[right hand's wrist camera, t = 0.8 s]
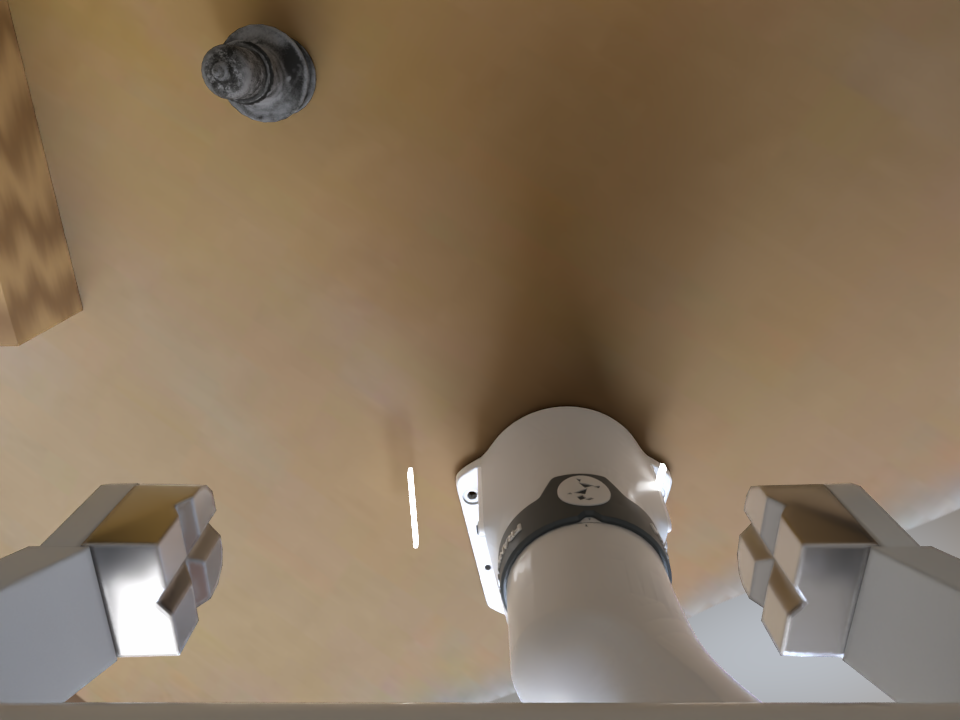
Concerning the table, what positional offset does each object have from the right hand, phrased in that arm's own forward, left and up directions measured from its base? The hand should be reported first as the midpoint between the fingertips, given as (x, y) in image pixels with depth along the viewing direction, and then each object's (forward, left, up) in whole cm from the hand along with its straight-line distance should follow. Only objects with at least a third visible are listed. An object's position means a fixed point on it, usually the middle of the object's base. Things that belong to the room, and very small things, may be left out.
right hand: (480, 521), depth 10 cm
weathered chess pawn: (+7, +14, -43) cm, 45 cm away
